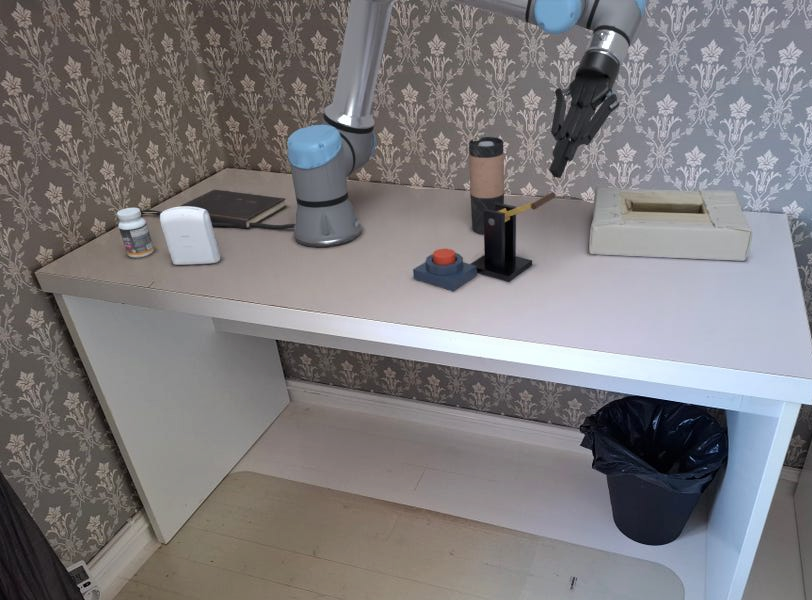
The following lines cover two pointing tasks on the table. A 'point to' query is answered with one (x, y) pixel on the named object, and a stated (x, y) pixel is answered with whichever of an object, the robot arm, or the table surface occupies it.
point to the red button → (444, 256)
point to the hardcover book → (237, 207)
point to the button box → (445, 273)
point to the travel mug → (485, 178)
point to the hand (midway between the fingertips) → (555, 173)
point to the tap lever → (528, 206)
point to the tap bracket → (500, 246)
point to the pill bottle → (134, 233)
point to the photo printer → (189, 235)
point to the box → (669, 224)
